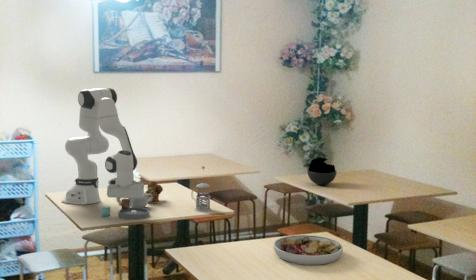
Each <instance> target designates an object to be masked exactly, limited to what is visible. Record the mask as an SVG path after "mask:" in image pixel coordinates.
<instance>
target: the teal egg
mask: <svg viewBox="0 0 476 280" xmlns="http://www.w3.org/2000/svg"><path fill="white" fill-rule="evenodd" d="M109 216H110V217H111V207H110V206H102V207H101V218H103V217H108V218H110V217H109Z"/></svg>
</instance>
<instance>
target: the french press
mask: <svg viewBox="0 0 476 280" xmlns="http://www.w3.org/2000/svg"><path fill="white" fill-rule="evenodd" d="M205 167H206V166H201V169H202V170H204V169H206V168H205ZM210 187H211V185H210V184H208V183H206V182H201V183H198V184H196V186H195V188H193V189H192V190H191V192H190V193H191V199H192V200H194V201H195V208H194V211H196V212H200V213H201V212H202V213H205V212H211V211H212V208H211V206H210V205H211V195H210V192H209V191H198V188H199V189H209V188H210ZM194 190H195V191H197V192H196V196H195V198H194V195H193V192H194Z"/></svg>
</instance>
